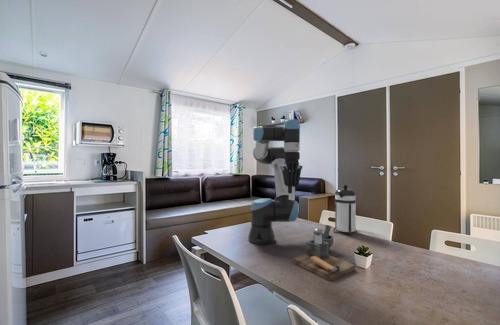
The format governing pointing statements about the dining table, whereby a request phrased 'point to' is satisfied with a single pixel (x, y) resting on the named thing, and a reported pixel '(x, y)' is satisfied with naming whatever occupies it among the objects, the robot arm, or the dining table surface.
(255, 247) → the dining table surface
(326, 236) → the mortar and pestle
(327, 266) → the strip
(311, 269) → the hitch board
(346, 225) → the coffee press
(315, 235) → the pin
